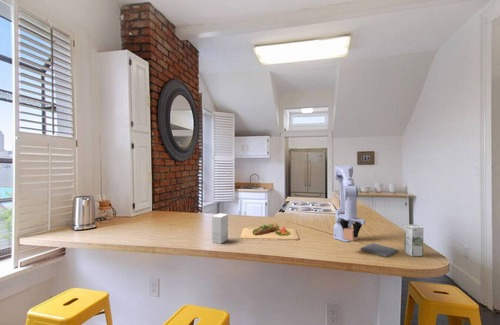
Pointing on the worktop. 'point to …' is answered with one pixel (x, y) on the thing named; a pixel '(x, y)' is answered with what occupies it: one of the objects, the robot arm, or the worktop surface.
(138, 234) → the worktop surface
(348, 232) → the cube
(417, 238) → the syrup box
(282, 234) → the cutting board
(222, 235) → the skincare box
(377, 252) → the mat
